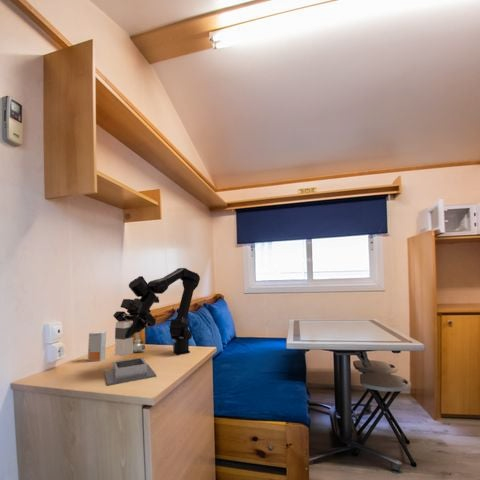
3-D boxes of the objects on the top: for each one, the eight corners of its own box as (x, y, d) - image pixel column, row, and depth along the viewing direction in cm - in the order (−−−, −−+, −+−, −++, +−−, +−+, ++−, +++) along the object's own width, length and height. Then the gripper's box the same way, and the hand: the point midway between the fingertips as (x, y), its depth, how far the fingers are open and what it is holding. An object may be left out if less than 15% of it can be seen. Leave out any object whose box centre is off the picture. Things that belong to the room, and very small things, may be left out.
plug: (124, 352, 111) (125, 320, 112) (133, 353, 108) (134, 321, 110) (114, 355, 107) (115, 322, 108) (123, 356, 104) (123, 322, 106)
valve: (139, 353, 135) (140, 328, 137) (127, 353, 137) (127, 328, 138) (146, 350, 142) (147, 325, 144) (134, 350, 143) (135, 325, 145)
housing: (147, 365, 116) (147, 355, 116) (156, 376, 102) (156, 364, 102) (104, 372, 108) (104, 361, 109) (107, 385, 94) (107, 372, 95)
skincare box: (87, 361, 125) (88, 333, 127) (92, 358, 130) (93, 331, 131) (100, 361, 125) (101, 332, 127) (105, 358, 129) (106, 331, 131)
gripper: (117, 291, 119) (92, 322, 107) (150, 291, 110) (126, 324, 99) (132, 308, 124) (109, 340, 113) (164, 309, 116) (143, 343, 104)
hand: (121, 336), depth 107 cm, fingers closed on plug, 5 cm apart
